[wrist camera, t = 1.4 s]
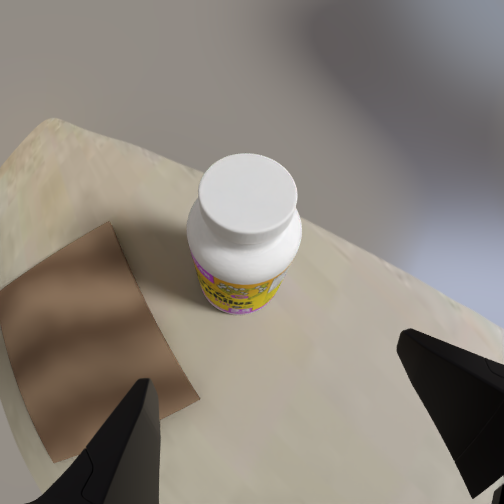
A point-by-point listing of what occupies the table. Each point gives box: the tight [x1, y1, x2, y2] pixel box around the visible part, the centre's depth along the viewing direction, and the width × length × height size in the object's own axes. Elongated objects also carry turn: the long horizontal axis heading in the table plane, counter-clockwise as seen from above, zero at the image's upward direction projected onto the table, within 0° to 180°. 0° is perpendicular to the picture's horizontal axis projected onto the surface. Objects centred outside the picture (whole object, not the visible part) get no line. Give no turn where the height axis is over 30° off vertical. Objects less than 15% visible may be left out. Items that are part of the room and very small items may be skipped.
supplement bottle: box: [187, 153, 302, 315], centre depth 19 cm, size 7×7×13 cm
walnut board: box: [0, 221, 200, 463], centre depth 21 cm, size 18×16×1 cm
